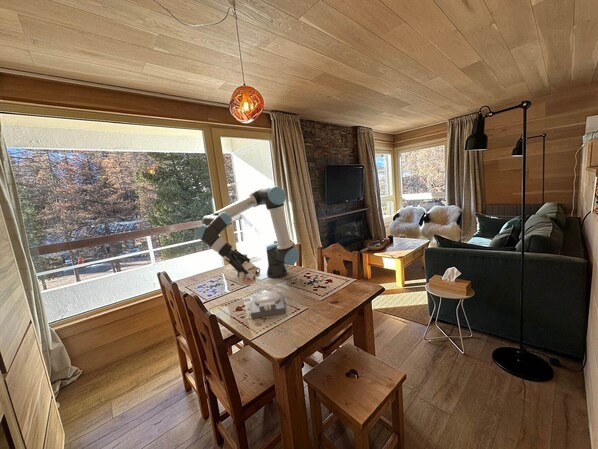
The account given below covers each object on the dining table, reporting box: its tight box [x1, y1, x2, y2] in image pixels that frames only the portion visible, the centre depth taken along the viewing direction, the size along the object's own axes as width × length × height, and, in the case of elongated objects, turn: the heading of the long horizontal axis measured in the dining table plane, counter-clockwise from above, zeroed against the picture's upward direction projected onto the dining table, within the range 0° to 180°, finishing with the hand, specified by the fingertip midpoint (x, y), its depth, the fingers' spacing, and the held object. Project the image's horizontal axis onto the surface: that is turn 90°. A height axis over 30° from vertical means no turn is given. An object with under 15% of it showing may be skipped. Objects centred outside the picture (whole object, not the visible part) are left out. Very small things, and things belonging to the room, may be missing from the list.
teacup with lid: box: [238, 261, 261, 286], centre depth 138 cm, size 12×9×12 cm
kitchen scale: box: [250, 291, 286, 319], centre depth 137 cm, size 20×17×6 cm
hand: (255, 273), depth 137 cm, fingers closed on teacup with lid, 9 cm apart
